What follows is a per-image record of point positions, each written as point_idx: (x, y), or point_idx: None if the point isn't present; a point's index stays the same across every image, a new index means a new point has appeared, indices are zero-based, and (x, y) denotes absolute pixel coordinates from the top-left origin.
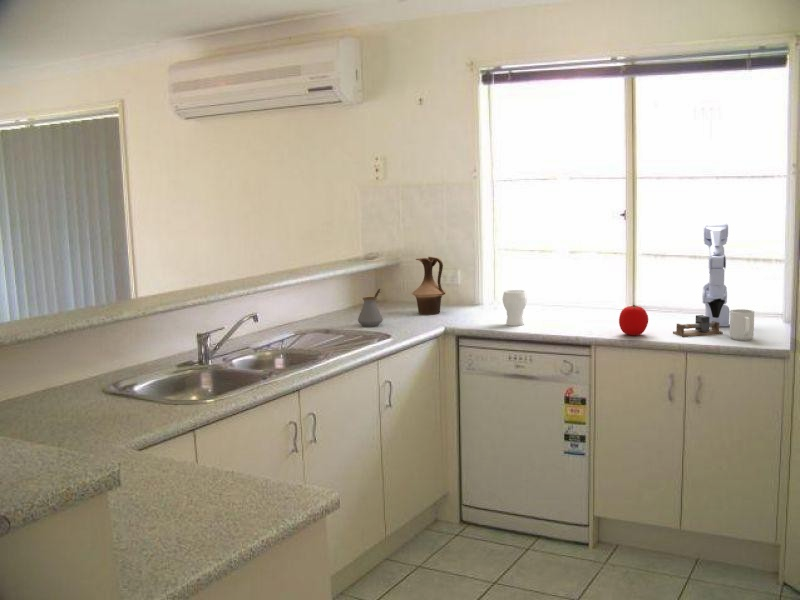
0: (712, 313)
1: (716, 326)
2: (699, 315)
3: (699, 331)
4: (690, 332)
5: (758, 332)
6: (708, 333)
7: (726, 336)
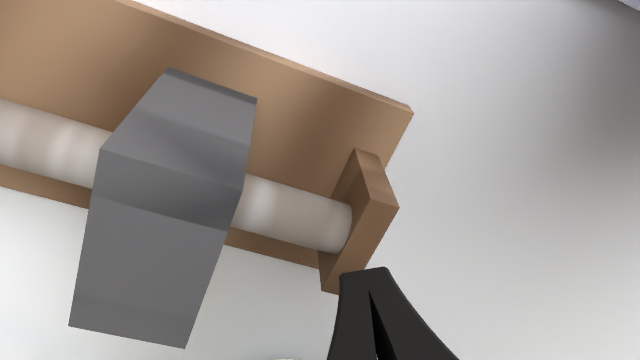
0: (339, 320)
1: (321, 252)
2: (158, 194)
3: None
4: (34, 102)
5: (562, 347)
6: None
7: (267, 320)
